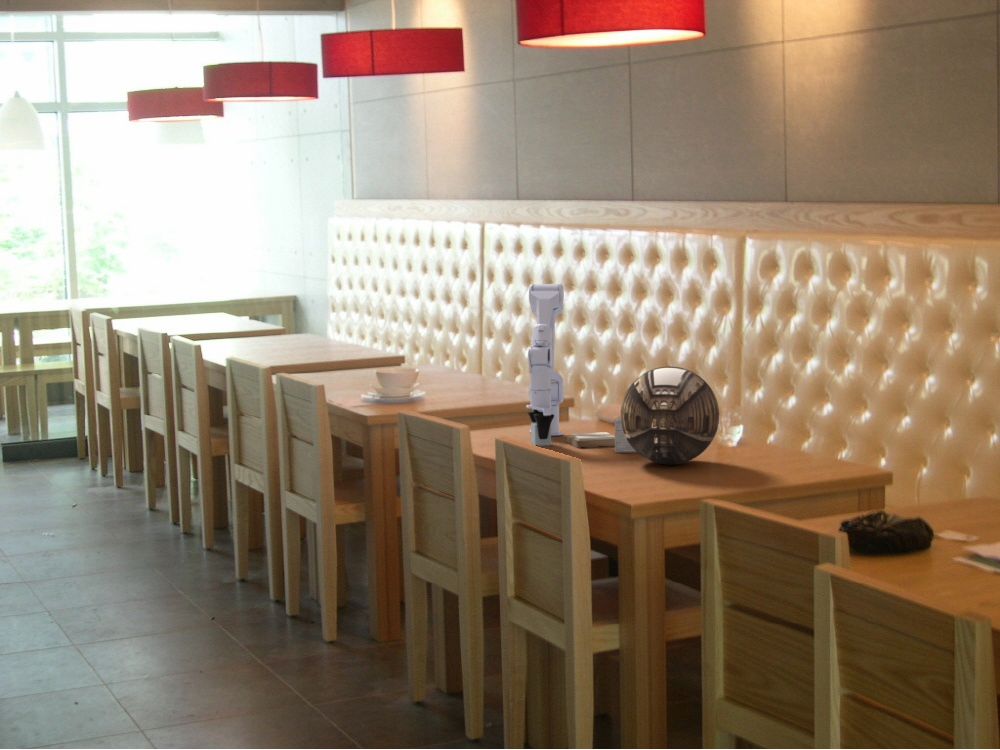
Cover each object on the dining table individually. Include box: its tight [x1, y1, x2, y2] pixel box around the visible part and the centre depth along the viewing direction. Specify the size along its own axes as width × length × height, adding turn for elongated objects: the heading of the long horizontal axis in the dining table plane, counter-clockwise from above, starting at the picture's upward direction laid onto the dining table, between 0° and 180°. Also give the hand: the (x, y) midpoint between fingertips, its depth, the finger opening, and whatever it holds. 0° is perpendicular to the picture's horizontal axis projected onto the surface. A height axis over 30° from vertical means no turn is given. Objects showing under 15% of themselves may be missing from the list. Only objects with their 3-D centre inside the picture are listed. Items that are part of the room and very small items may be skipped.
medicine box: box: [614, 418, 637, 453], centre depth 350 cm, size 8×4×9 cm, turn 84°
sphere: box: [620, 365, 720, 466], centre depth 330 cm, size 25×25×25 cm
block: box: [530, 421, 552, 447], centre depth 363 cm, size 4×4×6 cm
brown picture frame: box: [567, 431, 615, 449], centre depth 362 cm, size 10×12×2 cm
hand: (540, 437), depth 363 cm, fingers closed on block, 4 cm apart
